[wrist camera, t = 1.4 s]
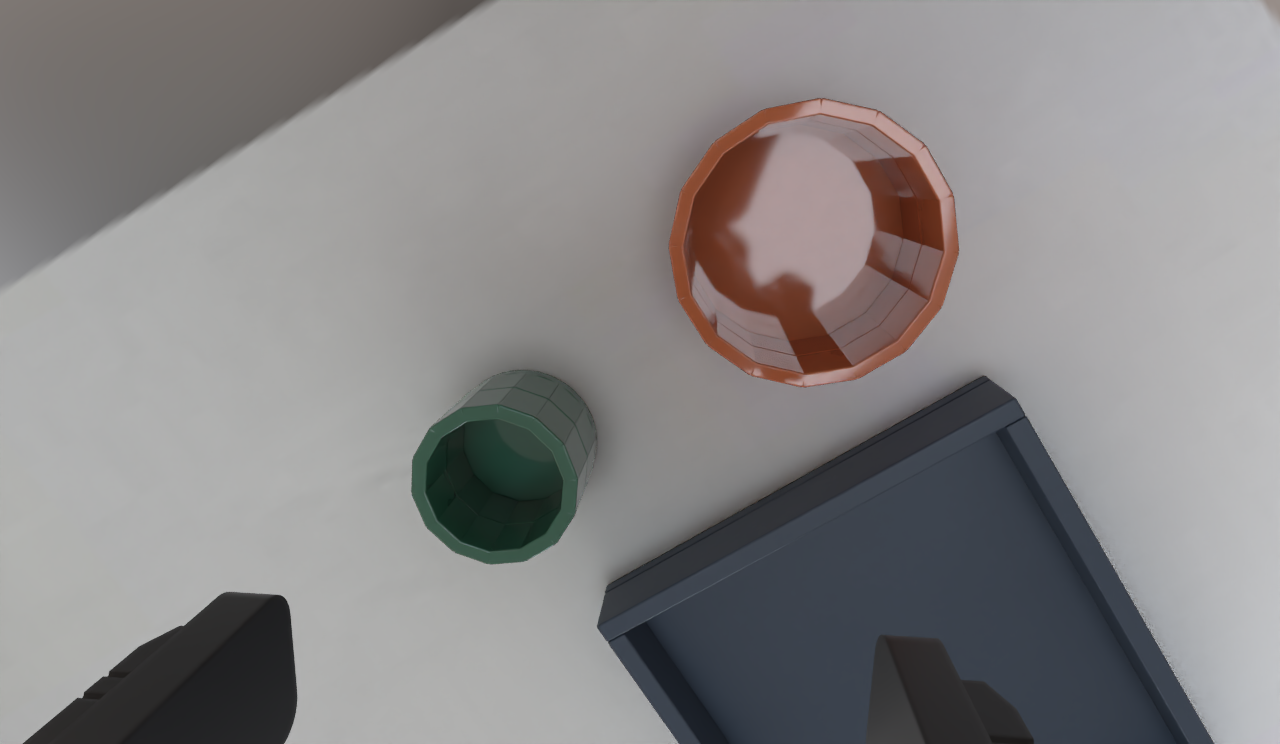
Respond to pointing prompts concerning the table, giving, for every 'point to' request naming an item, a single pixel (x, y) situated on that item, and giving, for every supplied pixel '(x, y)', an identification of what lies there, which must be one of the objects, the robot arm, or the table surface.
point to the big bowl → (814, 242)
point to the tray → (899, 595)
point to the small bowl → (505, 467)
